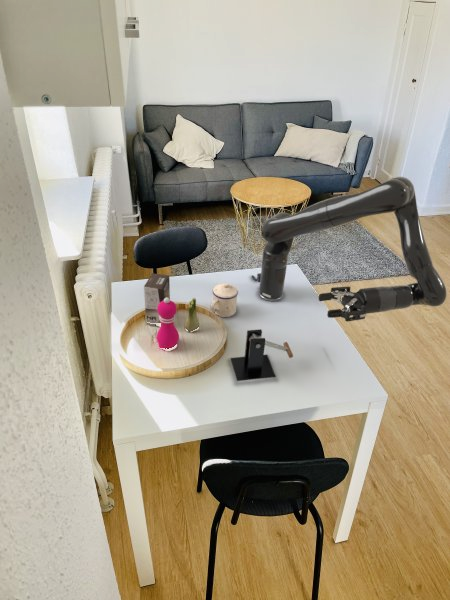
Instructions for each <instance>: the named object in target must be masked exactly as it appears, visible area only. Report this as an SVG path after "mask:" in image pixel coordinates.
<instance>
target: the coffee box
mask: <svg viewBox="0 0 450 600" xmlns="http://www.w3.org/2000/svg"><path fill="white" fill-rule="evenodd" d="M170 286H171V285H170V275H169V274H163V273H154V272H152V273H151V274H150V276H149V277H148V278H147V280H146V282H145V284H144V285H143V293H144V295H143V296H144V311H145V313H144V314H145V325H147V326H151V327H156V326H155V325H156V324H150V323H161V321H160V320H159V314H158V312H157V307H158V304H159V303H160V302H161V301H163V300H164V299H165V298H166V297H167V298H169V299H170V300H171V290H170ZM146 322H150V323H146Z"/></svg>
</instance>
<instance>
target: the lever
mask: <svg viewBox="0 0 450 600" xmlns="http://www.w3.org/2000/svg"><path fill="white" fill-rule="evenodd" d="M258 338H262V336H260V335H257V334H252V335H251V337H250V338H249V341H250V339H258ZM282 344H283V345H282ZM282 344H279V343H275V342H272V341H269V340H266V339H265V347H266V346H267V347H270V348H273V349H276V350H280V351H283V352H286V354H287V356H288V358H289V359H292V358H293V357H294V354H293V351H292V349H291V347H290V345H289V343H288V341H284V342H283V343H282Z"/></svg>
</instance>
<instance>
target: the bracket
mask: <svg viewBox="0 0 450 600" xmlns="http://www.w3.org/2000/svg"><path fill="white" fill-rule="evenodd" d="M252 334H257V335H260V336H261V338H258V339H250V341H249V338H250V337H251V335H252ZM262 336H263V329H260V328H259V329H250V330H249V329H248V330H246V338H245V348H244V349H245V350H244V356H238V357H230V362H231V365H232V368H233V372H234V375H235V379H236V382H241V381H250V380H259V379H269V378H276V374H275V372H274V369H273V366H272V363H271V361H270V359H269V356H268V354H265V348H266V345H265V340H266V338H265V337H262Z"/></svg>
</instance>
